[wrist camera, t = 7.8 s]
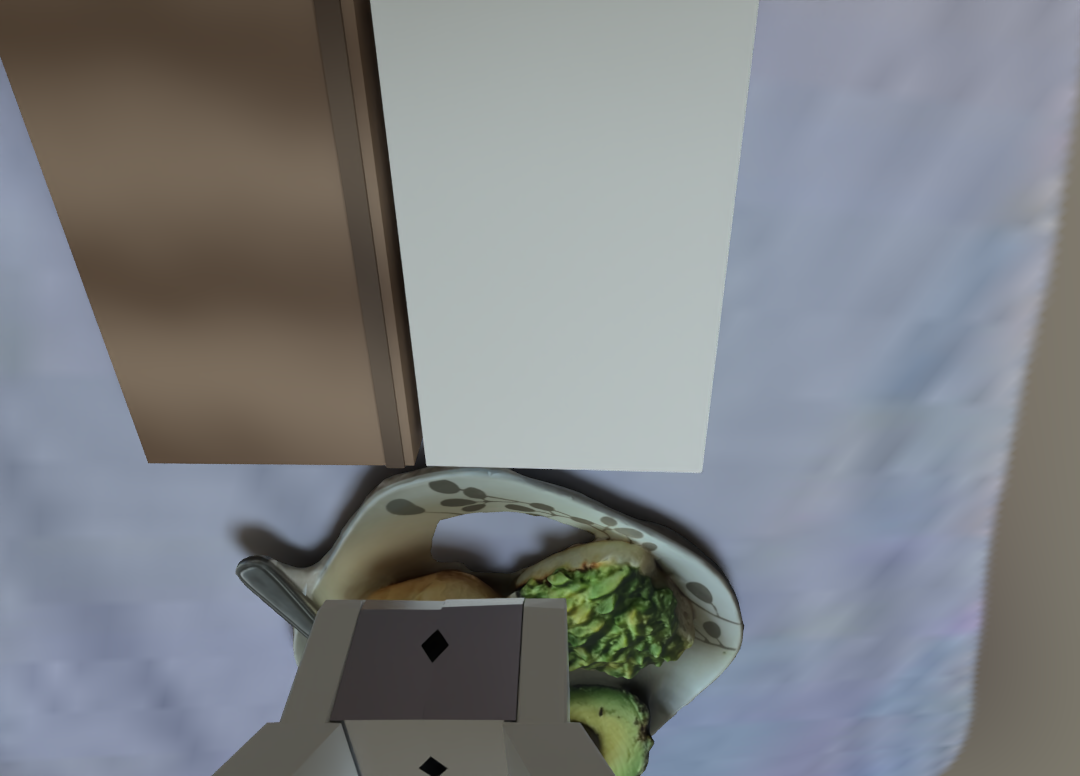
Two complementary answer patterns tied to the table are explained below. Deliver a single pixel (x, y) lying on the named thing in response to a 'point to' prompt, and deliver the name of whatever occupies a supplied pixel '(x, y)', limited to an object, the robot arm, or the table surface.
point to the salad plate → (540, 593)
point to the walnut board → (228, 219)
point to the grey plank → (564, 221)
